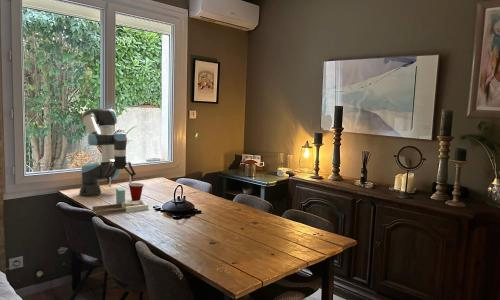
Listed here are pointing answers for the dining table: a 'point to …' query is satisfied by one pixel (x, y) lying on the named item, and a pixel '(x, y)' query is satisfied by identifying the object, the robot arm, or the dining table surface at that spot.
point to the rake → (120, 195)
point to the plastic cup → (136, 191)
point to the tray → (141, 205)
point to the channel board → (111, 211)
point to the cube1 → (128, 204)
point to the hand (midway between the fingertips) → (120, 186)
